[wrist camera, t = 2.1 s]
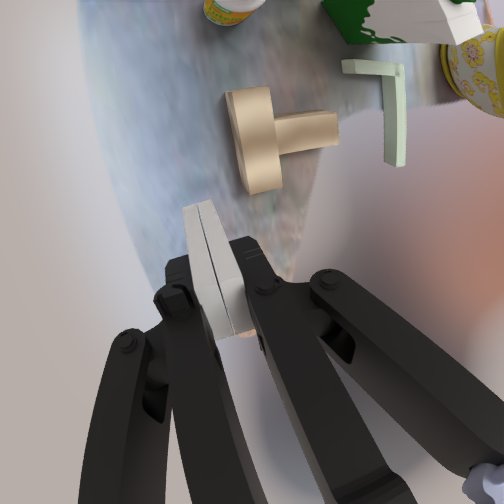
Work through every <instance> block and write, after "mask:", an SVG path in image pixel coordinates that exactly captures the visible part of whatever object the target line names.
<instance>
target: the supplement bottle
mask: <svg viewBox="0 0 504 504" xmlns="http://www.w3.org/2000/svg"><path fill="white" fill-rule="evenodd" d="M265 1H266V0H205V1H204V4H203V10H204V13H205V15H206V17H207V18H208V19H209V20H210V21H212V22H213V23H215V24H218V25H223V26H231V25H236V24H238V23H240V22H242V21H243V20H245V19H246V18H247V17H248V16H249V15H250V14H251V13H253V12H254V11H255V10H256V9H257V8H259V7H260V6H261V5H262V4H263V3H264V2H265Z"/></svg>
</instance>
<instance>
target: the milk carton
mask: <svg viewBox="0 0 504 504" xmlns="http://www.w3.org/2000/svg"><path fill="white" fill-rule="evenodd" d="M473 2H476V0H324V1H323V2H321V3H322V5H323V6H324V8H325V9H326V10H327V12H328V13H329V15H330V16H331V18H332V19H333V21H334V23H335V24H336V26H337V27H338V29H339V31H340V32H341V34H342V36H343V37H344V39H345V41H346V42H347V44H388V43H431V44H449V45H459V44H461V43H463V42H465V41H467V40H469V39H471V38H473V37H475V36H477V35H479V34H482V33H484V32H483V29H482V26H481V23H480V21H479V18H478V15H477V13H476V11H477V10H476V7H475V5H474V3H473Z"/></svg>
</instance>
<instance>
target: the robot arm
mask: <svg viewBox="0 0 504 504" xmlns="http://www.w3.org/2000/svg"><path fill="white" fill-rule="evenodd" d="M197 204H198V208H199V212H200V216H201V220H202V223H203V227H204V230H203V227H202V223H201V220H200V216H199V213H198V209H197V206H196V204H192V205H189V206H186V207H182V212H183V220H184V227H185V234H186V241H187V248H188V255H184V256H181V257H178V258H174V259H171V260H169V262H168V264H167V266H166V267H165V276H166V285H164V286H163V287H162V288H160V289H159V290H158V291H157V293H156V294H155V296H154V300H153V302H154V304H155V305H156V307H157V309H158V311H159V313H160V315H161V316H162V318H163V320H162V321H161V322H160V323H159V324H158V325H157V326H155V327H154V328H152V329H150V330H148V331H147V332H145V333H143V332H142V331H140V330H139V329H134V328H131V329H127V330H125V331H123V332H121V333H119V335H118V336H117V337H116V338H115V339H114V341H113V343H112V345H111V348H110V351H109V355H108V358H107V361H106V365H105V368H104V371H103V375H102V378H101V382H100V386H99V390H98V394H97V397H96V401H95V405H94V410H93V414H92V418H91V423H90V428H89V432H88V437H87V443H86V448H85V453H84V460H83V466H82V472H81V480H80V488H79V498H78V504H165V491H166V471H167V456H168V443H169V432H170V421H171V411H172V410H173V415H174V422H175V428H176V434H177V439H178V444H179V449H180V454H181V459H182V463H183V468H184V473H185V477H186V480H187V485H188V489H189V493H190V497H191V501H192V504H268V502H267V500H266V497H265V494H264V492H263V489H262V486H261V483H260V481H259V478H258V475H257V472H256V470H255V467H254V464H253V461H252V458H251V455H250V453H249V450H248V447H247V444H246V441H245V438H244V434H243V431H242V428H241V425H240V422H239V419H238V416H237V412H236V409H235V406H234V403H233V399H232V396H231V393H230V389H229V386H228V382H227V379H226V375H225V372H224V368H223V364H222V361H221V357H220V353H219V351H218V348H217V346H216V344H215V340H219V339H222V338H226V337H229V336H233V335H234V332H233V329H232V326H231V323H230V319H229V316H228V313H227V310H226V306H227V309H228V312H229V315H230V318H231V321H232V324H233V327H234V330H235V333H236V334H239V333H242V332H246V331H249V330H252V329H256V332H257V336H258V340H259V344H260V349H261V350H262V351H263V353H264V356H265V358H266V361H267V363H268V366H269V369H270V371H271V374H272V376H273V379H274V381H275V384H276V386H277V389H278V391H279V394H280V396H281V399H282V401H283V404H284V406H285V409H286V411H287V414H288V416H289V418H290V421H291V423H292V426H293V428H294V431H295V433H296V435H297V438H298V440H299V443H300V445H301V447H302V450H303V452H304V454H305V457H306V459H307V462H308V464H309V466H310V469H311V471H312V473H313V475H314V478H315V480H316V482H317V485H318V487H319V489H320V491H321V494H322V496H323V499H324V502H325V504H418V503H417V501H416V500H415V498H414V496H413V494H412V492H411V490H410V488H409V487H408V485H407V484H406V482H405V481H404V480H403V479H402V478H401V477H400V476H399V475H398V474H396V473H394V472H393V471H392V470H391V469H390V468H389V466H388V465H387V463H386V462H385V460H384V458H383V456H382V454H381V452H380V450H379V448H378V447H377V445H376V443H375V441H374V439H373V437H372V435H371V434H370V432H369V430H368V428H367V426H366V424H365V423H364V421H363V419H362V417H361V415H360V414H359V412H358V410H357V408H356V406H355V404H354V403H353V401H352V399H351V397H350V395H349V393H348V392H347V390H346V388H345V386H344V384H343V383H342V381H341V379H340V377H339V376H338V374H337V372H336V370H335V368H334V367H333V365H332V363H331V361H330V360H329V358H328V356H327V354H326V353H325V351H326V352H327V353H328V354H329V355H330V356H331V357H332V358H333V359H334V360H335V361H336V362H337V363H338V364H339V365H340V366H341V367H342V368H343V369H344V370H345V371H346V372H347V373H348V374H349V375H350V376H351V377H352V378H353V379H354V380H355V381H356V382H357V383H358V384H359V385H360V386H361V387H362V388H363V389H364V390H365V391H366V392H367V393H368V394H369V395H370V396H371V397H372V398H373V399H374V400H375V401H376V402H377V403H378V404H379V405H380V406H381V407H382V408H383V409H384V410H385V411H386V412H387V413H388V414H389V415H390V416H391V417H392V418H393V419H394V420H395V421H396V422H397V423H398V424H399V425H400V426H401V427H402V428H403V429H404V430H405V431H406V432H407V433H408V434H409V435H410V436H412V437H413V438H414V439H415V440H416V441H417V442H418V443H419V444H420V445H421V446H422V447H423V448H424V449H425V450H426V451H427V452H428V453H429V454H430V455H432V457H433V458H435V459H436V460H437V461H438V462H439V463H440V464H441V465H442V466H444V467H445V468H446V469H447V470H449V471H451V472H452V473H455V474H456V475H458V476H461V477H464V478H466V480H465V482H464V483H463V486H462V491H463V493H464V494H466V495H467V496H468V498H470V499H471V500H472V501H474V502H475V503H476V504H504V402H503V401H502V400H501V399H500V398H499V397H498V396H497V395H496V394H494V393H493V392H492V391H491V390H490V389H488V387H486V386H485V385H484V384H483V383H482V382H481V381H480V380H478V379H477V378H476V377H475V376H474V375H473V374H471V373H470V372H469V371H468V370H467V369H465V368H464V367H463V366H462V365H461V364H459V363H458V362H457V361H456V360H455V359H454V358H452V357H451V356H450V355H449V354H447V353H446V352H445V351H444V350H443V349H441V348H440V347H439V346H438V345H436V344H435V343H434V342H433V341H431V340H430V339H429V338H428V337H427V336H425V335H424V334H423V333H422V332H420V331H419V330H417V329H416V328H415V327H414V326H412V325H411V324H410V323H409V322H408V321H406V320H405V319H404V318H403V317H401V316H400V315H399V314H397V313H396V312H395V311H393V310H392V309H391V308H390V307H388V306H387V305H385V304H384V303H383V302H382V301H380V300H379V299H378V298H376V297H375V296H374V295H372V294H371V293H370V292H368V291H367V290H366V289H364V288H363V287H362V286H360V285H359V284H358V283H356V282H355V281H354V280H352V279H351V278H350V277H348V276H347V275H346V274H344V273H342V272H340V271H338V270H334V269H324V270H320V271H318V272H316V273H315V274H314V275H312V277H311V279H310V282H305V283H290V282H286V281H284V280H283V279H282V278H281V277H279V276H277V275H276V274H275V272H274V271H273V269H272V267H271V265H270V264H269V262H268V260H267V258H266V257H265V255H264V254H263V251H262V250H261V248H260V246H259V244H258V243H257V241H256V240H255V239H253V238H251V237H250V236H246V237H243V238H239V239H236V240H232V241H229V242H228V240H227V237H226V235H225V232H224V230H223V227H222V225H221V222H220V220H219V217H218V215H217V212H216V210H215V207H214V205H213V202H212V200H211V199H210V200H206V201H203V202H199V203H197ZM204 231H205V234H206V237H205V234H204ZM206 238H207V241H206ZM207 242H208V244H207ZM208 245H209V247H208ZM209 249H210V251H209ZM210 252H211V255H210ZM211 256H212V258H211ZM212 259H213V262H212ZM213 263H214V265H213ZM214 266H215V269H214ZM215 270H216V272H215ZM216 273H217V276H216ZM217 277H218V279H217ZM218 280H219V283H218ZM219 284H220V286H219ZM220 287H221V290H222V293H223V296H224V299H225V302H226V306H225V303H224V300H223V296H222V293H221V290H220ZM214 338H215V339H214ZM324 350H325V351H324Z"/></svg>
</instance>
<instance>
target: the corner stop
mask: <svg viewBox="0 0 504 504" xmlns="http://www.w3.org/2000/svg"><path fill="white" fill-rule="evenodd" d="M341 63H342V71H343V73H346V74H374V75H381V78H382V91H383V109H384V162H386V163H388V164H391V165H393V166H395V167H400V166H405V156H406V93H405V76H404V65H403V64H398V63H391V62H382V61H373V60H361V59H347V60H341Z"/></svg>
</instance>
